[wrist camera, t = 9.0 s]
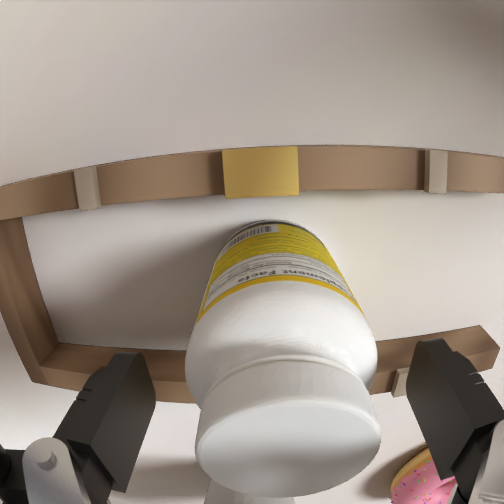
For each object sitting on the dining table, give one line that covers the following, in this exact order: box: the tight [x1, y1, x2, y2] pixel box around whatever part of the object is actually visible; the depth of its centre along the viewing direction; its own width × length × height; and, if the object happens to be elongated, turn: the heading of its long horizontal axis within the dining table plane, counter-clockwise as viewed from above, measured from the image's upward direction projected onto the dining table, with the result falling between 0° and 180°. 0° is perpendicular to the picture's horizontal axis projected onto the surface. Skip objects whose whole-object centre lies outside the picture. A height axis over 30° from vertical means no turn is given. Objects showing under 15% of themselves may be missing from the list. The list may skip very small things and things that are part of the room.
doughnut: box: [389, 448, 457, 504], centre depth 19 cm, size 11×11×4 cm
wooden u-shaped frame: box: [0, 145, 504, 404], centre depth 13 cm, size 28×12×3 cm, turn 93°
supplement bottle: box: [185, 220, 381, 498], centre depth 10 cm, size 5×5×10 cm
